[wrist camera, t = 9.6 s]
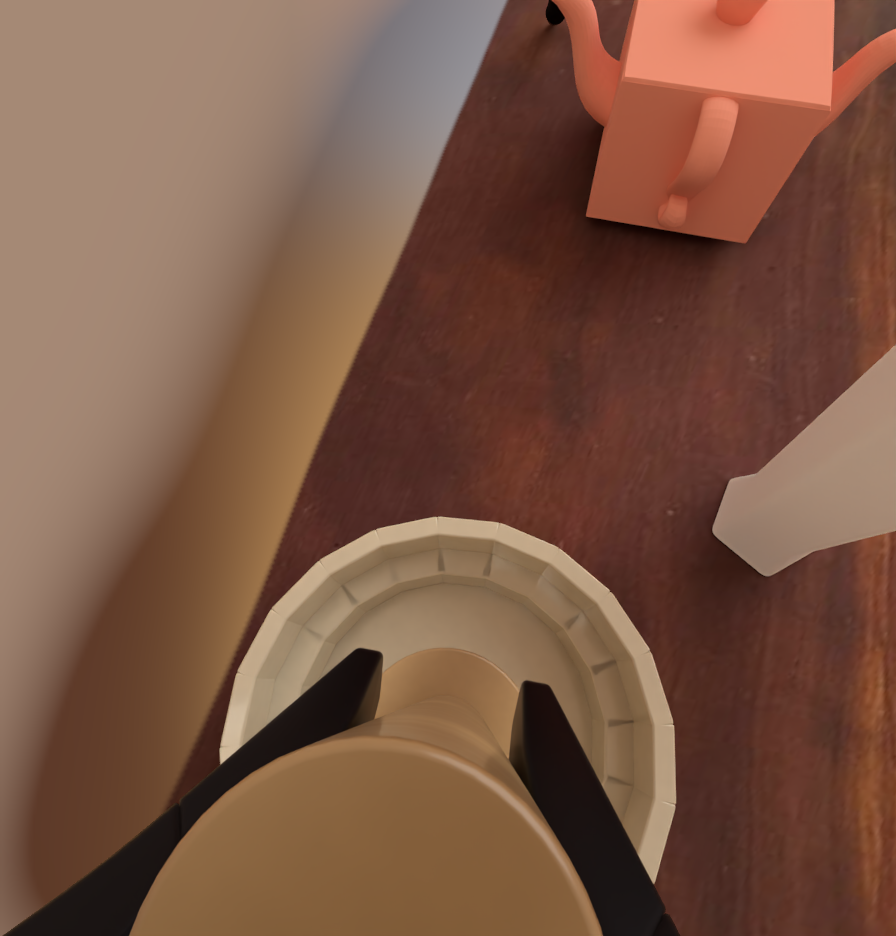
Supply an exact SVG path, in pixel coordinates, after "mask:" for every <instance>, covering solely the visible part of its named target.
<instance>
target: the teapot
mask: <svg viewBox="0 0 896 936" xmlns="http://www.w3.org/2000/svg"><path fill="white" fill-rule="evenodd" d="M552 1H553V2H554V3H555V4H556V5H557V6H558V7H559V9H560V10H561V12H562V14H563V15H564V17H565V19H566V22H567V25H568V27H569V31H570V36H571V42H572V51H573V62H574V72H575V80H576V86H577V90H578V94H579V98H580V100H581V102H582V104H583V106H584V108H585V109H586V110H587V112H588V113H589V114H590V115H591V116H592V117H593V118H594V120H596V121H597V122H598V123H600V124H601V125H603V126H604V130H603V135H602V140H601V145H600V149H599V154H598V159H597V164H596V169H595V174H594V179H593V183H592V188H591V193H590V198H589V203H588V208H587V213H586V217H592V218H598V219H604V220H610V221H616V222H621V223H627V224H633V225H639V226H645V227H651V228H657V229H662V230H668V231H674V232H680V233H686V234H692V235H698V236H704V237H710V238H715V239H721V240H727V241H733V242H739V243H746V242H747V241H748V239H749V237H750V236H751V234H752V233H753V231H754V230H755V228H756V227H757V225H758V223H759V222H760V220H761V219H762V217H763V216H764V214H765V213H766V211H767V209H768V208H769V206H770V205H771V203H772V202H773V200H774V199H775V197H776V195H777V194H778V192H779V191H780V189H781V188H782V186H783V185H784V183H785V181H786V180H787V178H788V177H789V175H790V174H791V172H792V171H793V169H794V167H795V166H796V164H797V163H798V161H799V160H800V158H801V157H802V155H803V153H804V152H805V150H806V149H807V147H808V146H809V144H810V143H811V141H812V139H813V138H814V136H816V135H818V134H819V133H820V132H821V131H822V130H824V129H825V128H826V127H827V126H828V125H830V124H831V123H832V122H833V121H834V120H835V119H836V118H837V117H838V116H839V115H840V114H841V113H842V112H843V111H844V110H845V109H846V107H847V106H848V105H849V104H850V103H851V102H852V101H853V100H854V99H855V98H856V97H857V96H858V95H859V94H860V93H861V92H862V90H863V89H864V88H865V87H866V86H867V85H868V84H869V83H871V82H872V81H873V80H874V79H875V78H876V77H877V76H878V75H879V74H880V73H882V72H883V71H885V70H886V69H887V68H889V67H890V66H891V65H893V64H894V63H895V62H896V29H894V30H892V31H890V32H888V33H885V34H883V35H881V36H880V37H878V38H876V39H875V40H873V41H872V42H870V43H869V44H867V45H866V46H865V47H864V48H862V49H861V50H860V51H859V52H857V53H856V54H855V55H854V56H853V57H852V58H850V59H849V60H848V61H847V62H846V63H844V64H843V65H842V66H841V67H839V68H838V69H837V70H835V71H834V72H833V42H834V0H634V4H633V8H632V12H631V16H630V20H629V24H628V28H627V32H626V36H625V40H624V44H623V48H622V52H621V56H620V60H619V61H617V60H615V59H614V58H612V57H611V56H610V55H609V54H608V53H607V52H606V51H605V49H604V47H603V45H602V43H601V40H600V35H599V28H598V20H597V14H596V10H595V7H594V4H593V2H592V0H552Z"/></svg>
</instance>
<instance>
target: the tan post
mask: <svg viewBox="0 0 896 936" xmlns="http://www.w3.org/2000/svg"><path fill="white" fill-rule="evenodd" d="M519 691H520V690H519V688H518V687H517V685H516V684H515V683H514V681H513V680H512V679H511V678H510V677H509V676H508V675H507V674H506V673H505V672H504V671H503V670H502V669H501V668H499V667H498V666H497V665H496V664H494V663H493V662H491V661H489V660H488V659H486V658H484V657H482V656H480V655H478V654H476V653H473V652H470V651H466V650H462V649H456V648H432V649H426V650H422V651H418V652H416V653H413V654H411V655H408V656H406V657H404V658H402V659H401V660H399V661H397V662H396V663H394V664H393V665H392V666H390V667H389V668H388V669H386V670H385V671H384V672H383V673H382V680H381V691H380V698H379V703H378V707H377V711H376V715H375V718H374V720H371V721H369V722H366V723H364V724H361V725H359V726H356V727H353V728H351V729H348V730H346V731H343V732H341V733H338V734H336V735H333V736H331V737H328V738H325V739H323V740H320V741H318V742H315V743H313V744H310V745H308V746H305V747H303V748H300V749H298V750H295V751H293V752H291V753H288V754H286V755H283V756H281V757H278V758H277V759H275V760H273V761H272V762H270V763H268V764H266V765H265V766H263V767H261V768H259V769H258V770H256V771H254V772H252V773H251V774H249V775H248V776H247V777H245V778H244V779H243V780H242V781H240V782H239V783H238V784H236V785H235V786H234V787H232V788H231V789H230V790H228V791H227V792H226V793H224V794H223V795H222V796H221V797H220V798H219V799H218V800H217V801H216V802H215V803H214V804H213V805H212V806H211V807H210V808H209V809H208V810H207V811H206V812H205V813H204V814H203V815H202V816H201V817H200V818H199V819H198V820H197V821H196V823H195V824H194V825H193V826H192V827H191V829H190V830H189V831H188V832H187V833H186V835H185V836H184V837H183V838H182V839H181V841H180V842H179V843H178V844H177V846H176V848H175V849H174V851H173V852H172V854H171V855H170V857H169V858H168V860H167V861H166V863H165V864H164V866H163V867H162V869H161V870H160V872H159V873H158V875H157V877H156V879H155V881H154V882H153V884H152V886H151V888H150V890H149V892H148V894H147V896H146V898H145V900H144V902H143V904H142V905H141V907H140V910H139V912H138V915H137V917H136V920H135V922H134V925H133V927H132V930H131V932H130V935H129V936H603V934H602V930H601V926H600V924H599V921H598V919H597V916H596V914H595V911H594V909H593V906H592V904H591V901H590V898H589V896H588V893H587V891H586V889H585V887H584V885H583V883H582V881H581V879H580V877H579V875H578V874H577V872H576V870H575V868H574V866H573V864H572V862H571V860H570V858H569V857H568V855H567V853H566V852H565V850H564V849H563V847H562V845H561V844H560V842H559V840H558V839H557V837H556V836H555V834H554V832H553V831H552V829H551V828H550V826H549V824H548V823H547V821H546V819H545V818H544V816H543V815H542V813H541V811H540V810H539V808H538V806H537V805H536V803H535V802H534V800H533V798H532V797H531V795H530V794H529V792H528V790H527V789H526V787H525V785H524V784H523V782H522V781H521V779H520V777H519V776H518V774H517V773H516V771H515V769H514V768H513V766H512V764H511V763H510V761H509V751H510V740H511V731H512V724H513V718H514V714H515V709H516V705H517V700H518V696H519Z"/></svg>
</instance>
